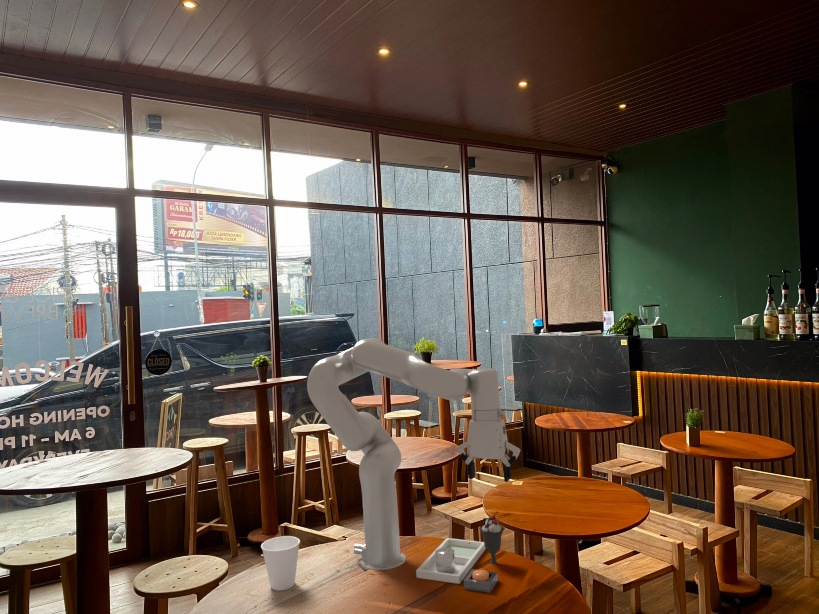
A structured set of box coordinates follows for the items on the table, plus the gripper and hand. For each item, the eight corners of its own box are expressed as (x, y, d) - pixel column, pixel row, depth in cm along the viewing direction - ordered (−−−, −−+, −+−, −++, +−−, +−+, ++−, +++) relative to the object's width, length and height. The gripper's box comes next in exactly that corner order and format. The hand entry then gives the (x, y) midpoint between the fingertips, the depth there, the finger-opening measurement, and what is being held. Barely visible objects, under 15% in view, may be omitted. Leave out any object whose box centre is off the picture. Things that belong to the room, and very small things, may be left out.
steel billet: (433, 573, 153) (432, 554, 153) (440, 565, 157) (439, 546, 157) (451, 576, 151) (450, 556, 151) (458, 568, 155) (457, 549, 155)
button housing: (464, 592, 144) (463, 580, 144) (472, 580, 150) (472, 569, 150) (490, 596, 141) (489, 584, 141) (498, 584, 147) (497, 572, 147)
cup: (288, 573, 160) (286, 533, 160) (309, 584, 152) (307, 541, 153) (255, 587, 153) (253, 544, 153) (276, 599, 146) (274, 554, 146)
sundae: (506, 572, 154) (503, 514, 154) (480, 571, 155) (477, 514, 155) (507, 561, 160) (504, 506, 160) (482, 560, 161) (479, 505, 161)
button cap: (470, 585, 144) (470, 575, 144) (475, 578, 148) (475, 568, 148) (486, 587, 143) (485, 577, 143) (491, 580, 146) (490, 570, 146)
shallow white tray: (416, 581, 151) (416, 570, 151) (447, 547, 172) (446, 537, 172) (459, 587, 146) (459, 576, 146) (485, 552, 167) (485, 542, 167)
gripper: (521, 413, 158) (524, 477, 158) (459, 412, 165) (463, 473, 165) (514, 418, 151) (518, 485, 151) (450, 416, 158) (454, 481, 158)
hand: (489, 479), depth 158 cm, fingers open, 9 cm apart
